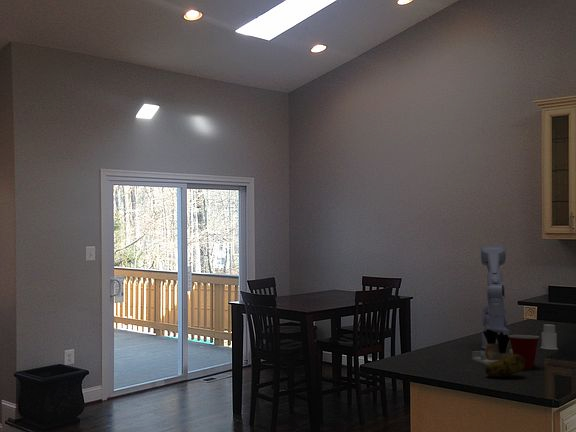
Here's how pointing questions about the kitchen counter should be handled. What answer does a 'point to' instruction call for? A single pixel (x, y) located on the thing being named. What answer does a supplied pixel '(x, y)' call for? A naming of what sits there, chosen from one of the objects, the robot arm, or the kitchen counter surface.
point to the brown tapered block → (495, 352)
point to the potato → (506, 366)
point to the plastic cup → (525, 348)
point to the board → (484, 357)
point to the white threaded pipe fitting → (549, 337)
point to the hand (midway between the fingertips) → (497, 351)
